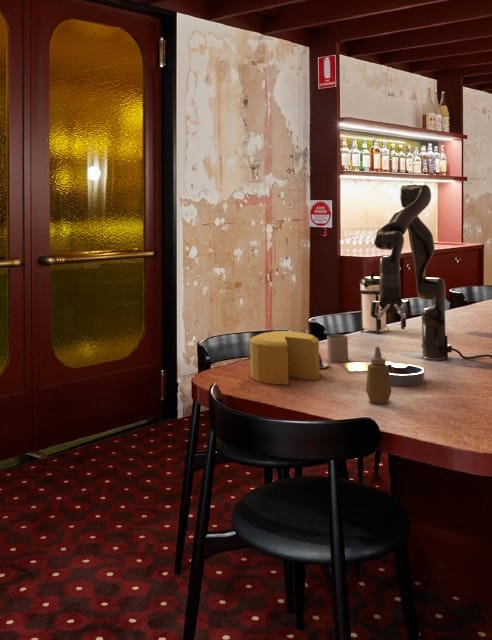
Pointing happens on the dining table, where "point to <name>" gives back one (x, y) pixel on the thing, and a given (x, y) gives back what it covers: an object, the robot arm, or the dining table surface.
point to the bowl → (407, 376)
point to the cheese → (284, 357)
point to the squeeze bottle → (378, 379)
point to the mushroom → (399, 369)
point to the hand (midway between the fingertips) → (391, 328)
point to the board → (359, 366)
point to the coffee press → (368, 294)
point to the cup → (337, 348)
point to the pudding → (321, 364)
